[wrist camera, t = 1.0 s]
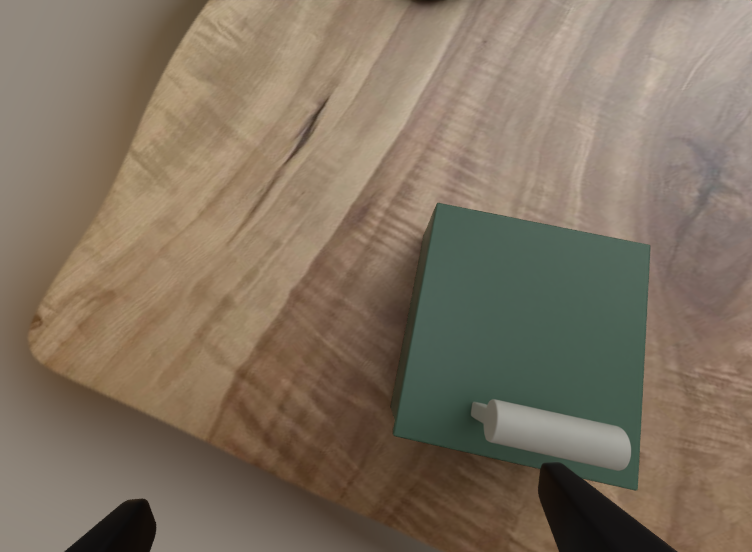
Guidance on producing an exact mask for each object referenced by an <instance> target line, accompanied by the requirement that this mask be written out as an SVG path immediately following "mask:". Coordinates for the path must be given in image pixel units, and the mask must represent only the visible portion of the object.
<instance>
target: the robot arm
mask: <svg viewBox="0 0 752 552" xmlns="http://www.w3.org/2000/svg"><path fill="white" fill-rule="evenodd" d="M538 494H539V498H540V502H541V504H542V507H543V510H544V512H545V515H546V518H547V520H548V523H549V526H550V528H551V531H552V534H553V536H554V539H555V542H556V544H557V547H558V550H559V552H677V551H676V550H675V549H673V548H672V547H671V546H669V545H668V544H667V543H665V542H664V541H663V540H662V539H660V538H659V537H658V536H656V535H655V534H654V533H652V532H651V531H650V530H649V529H647V528H646V527H645V526H643V525H642V524H641V523H639V522H638V521H637V520H635V519H634V518H633V517H632V516H630V515H629V514H628V513H626V512H625V511H624V510H622V509H621V508H620V507H619V506H617V505H616V504H615V503H613V502H612V501H611V500H609V499H608V498H607V497H606V496H604V495H603V494H602V493H600V492H599V491H598V490H596V489H595V488H594V487H593V486H591V485H590V484H589V483H587V482H586V481H585V480H583V479H582V478H581V477H580V476H578V475H577V474H576V473H574V472H573V471H572V470H570V469H569V468H568V467H567V466H565V465H564V464H562V463H560V462H548V463H543V464H542V465H541V468H540V477H539V485H538ZM155 534H156V522H155V519H154V516H153V514H152V511H151V508H150V505H149V503H148V501H147V500H146V499H132V500H127V501H125V502H123V503H122V504H120V505H119V506H118V507H117V508H116V509H115V510H113V511H112V512H111V513H110V514H109V515H107V516H106V517H105V518H104V519H103V520H102V521H100V522H99V523H98V524H97V525H95V526H94V527H93V528H92V529H91V530H89V532H87V533H86V534H85V535H84V536H82V537H81V538H80V539H79V540H78V541H76V542H75V543H74V544H73V545H72V546H70V547H69V548H68V549H67V550H66V551H65V552H150V550H151V547H152V544H153V541H154V538H155Z"/></svg>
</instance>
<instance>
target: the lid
mask: <svg viewBox="0 0 752 552" xmlns="http://www.w3.org/2000/svg"><path fill="white" fill-rule="evenodd" d="M649 263H650V245H647V244H642V243H637V242H632V241H627V240H622V239H617V238H612V237H607V236H602V235H597V234H592V233H587V232H582V231H577V230H572V229H567V228H562V227H557V226H552V225H547V224H542V223H537V222H532V221H527V220H522V219H517V218H512V217H507V216H502V215H497V214H492V213H487V212H482V211H477V210H472V209H467V208H462V207H457V206H452V205H447V204H442V203H437V204H436V207H435V211H434V216H433V221H432V227H431V232H430V237H429V242H428V248H427V253H426V258H425V264H424V269H423V274H422V279H421V285H420V290H419V295H418V300H417V306H416V311H415V316H414V322H413V327H412V332H411V337H410V343H409V348H408V353H407V358H406V364H405V369H404V374H403V380H402V385H401V390H400V395H399V401H398V406H397V411H396V416H395V422H394V427H393V435H394V436H396V437H400V438H405V439H409V440H414V441H418V442H423V443H427V444H431V445H436V446H440V447H445V448H449V449H454V450H458V451H462V452H467V453H471V454H476V455H480V456H485V457H489V458H493V459H498V460H502V461H507V462H511V463H516V464H520V465H524V466H529V467H533V468H538V469H540V468H541V465H542V464H543V463H548V462H560V463H562V464H564V465H565V466H567V467H568V468H569V469H570V470H572V471H573V472H574V473H576V474H577V475H578V476H580V477H581V478H582V479H587V480H591V481H595V482H600V483H604V484H609V485H613V486H618V487H622V488H626V489H631V490H637V489H638V472H639V453H640V434H641V415H642V396H643V377H644V358H645V339H646V320H647V301H648V282H649Z"/></svg>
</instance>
